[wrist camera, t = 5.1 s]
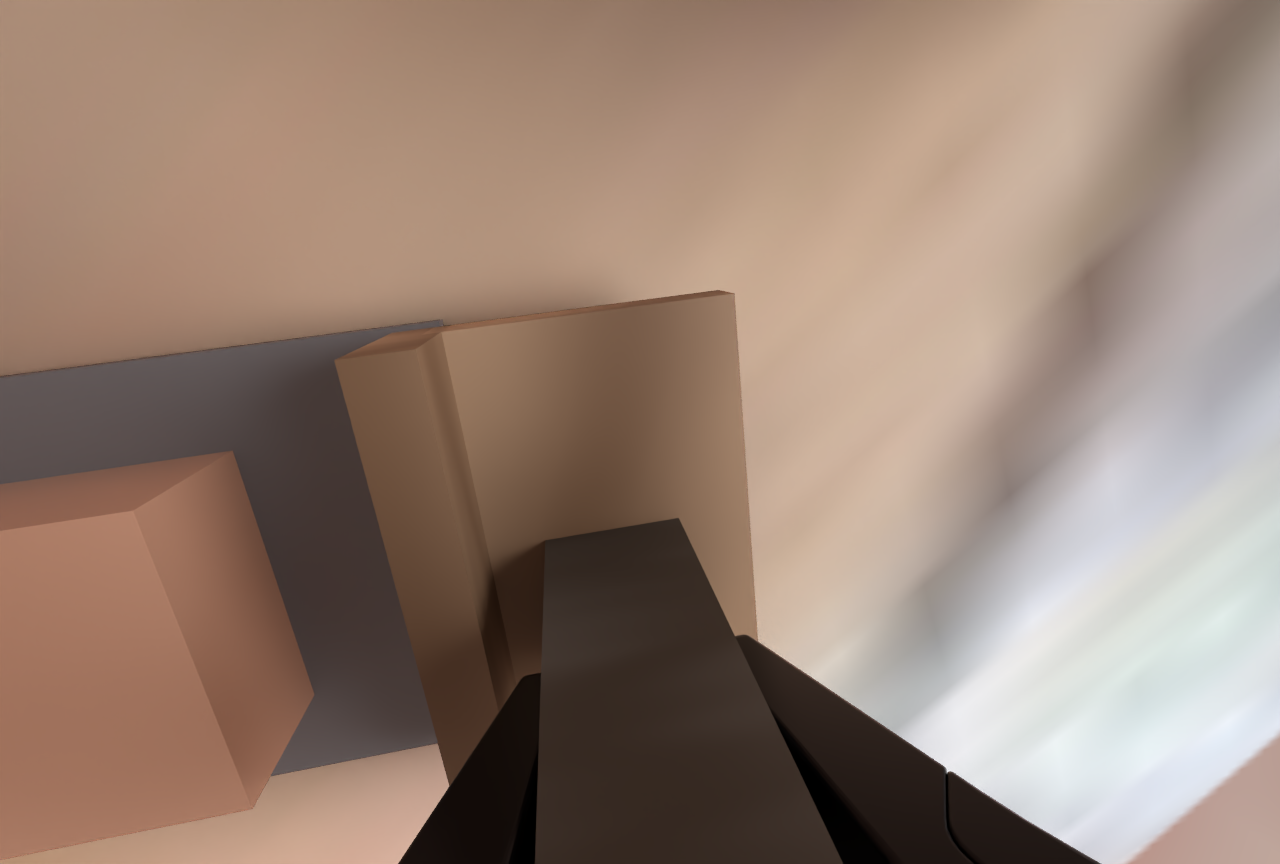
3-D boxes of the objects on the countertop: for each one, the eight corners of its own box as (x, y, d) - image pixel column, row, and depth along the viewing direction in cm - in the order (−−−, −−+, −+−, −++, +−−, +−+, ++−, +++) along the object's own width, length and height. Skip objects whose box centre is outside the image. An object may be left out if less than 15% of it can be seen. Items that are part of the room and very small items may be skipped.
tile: (232, 450, 12) (133, 510, 9) (314, 695, 14) (252, 808, 11) (-97, 498, 11) (-313, 578, 9) (32, 747, 13) (-111, 882, 10)
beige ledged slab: (718, 290, 11) (1121, 373, 3) (751, 736, 14) (1000, 1339, 6) (392, 332, 10) (-95, 563, 3) (500, 788, 13) (426, 1525, 5)
